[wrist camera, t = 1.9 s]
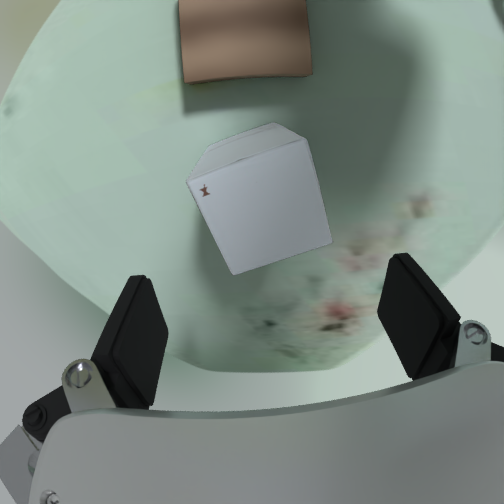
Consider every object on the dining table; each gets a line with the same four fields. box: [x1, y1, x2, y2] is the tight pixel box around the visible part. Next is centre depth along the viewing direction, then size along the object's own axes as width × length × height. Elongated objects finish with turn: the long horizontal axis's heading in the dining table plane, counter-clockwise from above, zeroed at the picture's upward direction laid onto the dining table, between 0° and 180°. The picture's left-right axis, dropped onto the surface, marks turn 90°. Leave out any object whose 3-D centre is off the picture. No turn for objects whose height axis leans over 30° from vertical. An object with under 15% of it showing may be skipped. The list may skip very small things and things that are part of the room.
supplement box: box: [186, 122, 333, 275], centre depth 22 cm, size 7×7×13 cm
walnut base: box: [179, 0, 313, 85], centre depth 18 cm, size 12×11×3 cm
